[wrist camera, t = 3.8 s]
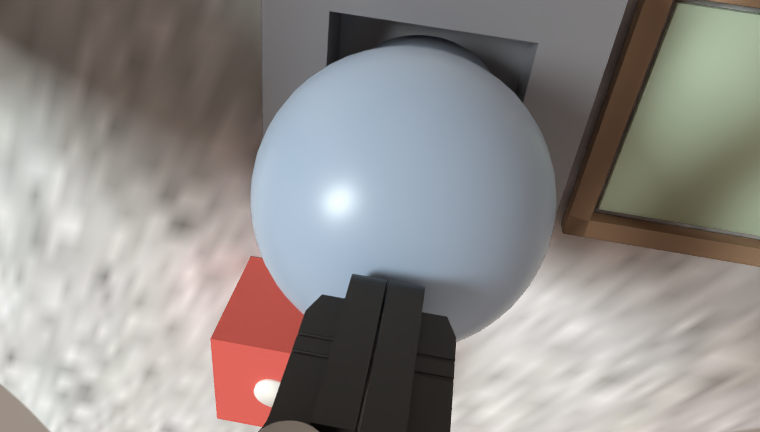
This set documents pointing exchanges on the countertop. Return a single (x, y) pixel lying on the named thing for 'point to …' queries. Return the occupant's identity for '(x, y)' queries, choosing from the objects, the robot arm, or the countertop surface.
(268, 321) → the die
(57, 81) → the countertop surface
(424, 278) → the pale blue sphere
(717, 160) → the window frame
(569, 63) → the housing
